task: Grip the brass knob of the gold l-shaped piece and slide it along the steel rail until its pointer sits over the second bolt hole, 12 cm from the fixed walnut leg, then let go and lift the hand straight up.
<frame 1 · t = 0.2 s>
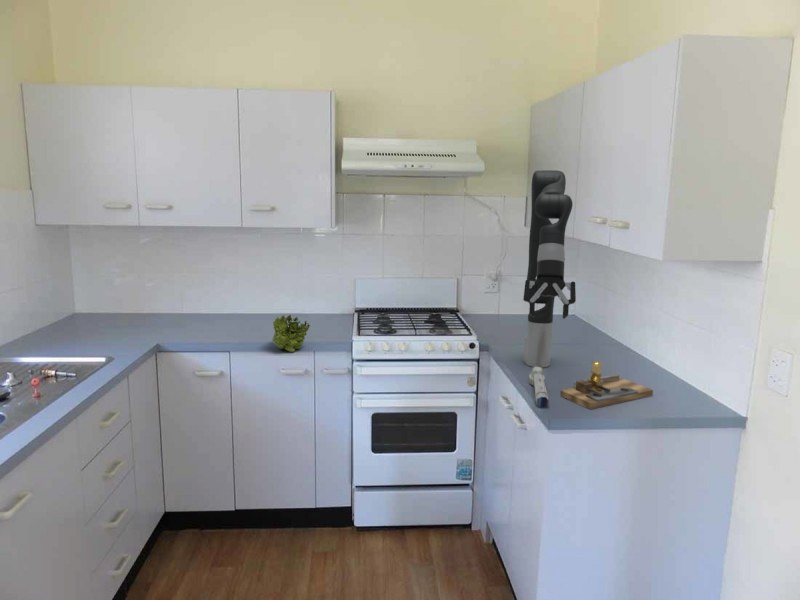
hand: (548, 317, 160), 31 cm above the worktop, tool tilted 20°, fingers open, 8 cm apart
layout board: (606, 395, 187), on the worktop
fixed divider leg: (583, 391, 185), resting on layout board
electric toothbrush: (538, 395, 188), on the worktop
green bumpy lump: (291, 349, 236), on the worktop
gold l-shaped piece: (600, 377, 185), point 7 cm above the worktop, slide at 5.0 cm
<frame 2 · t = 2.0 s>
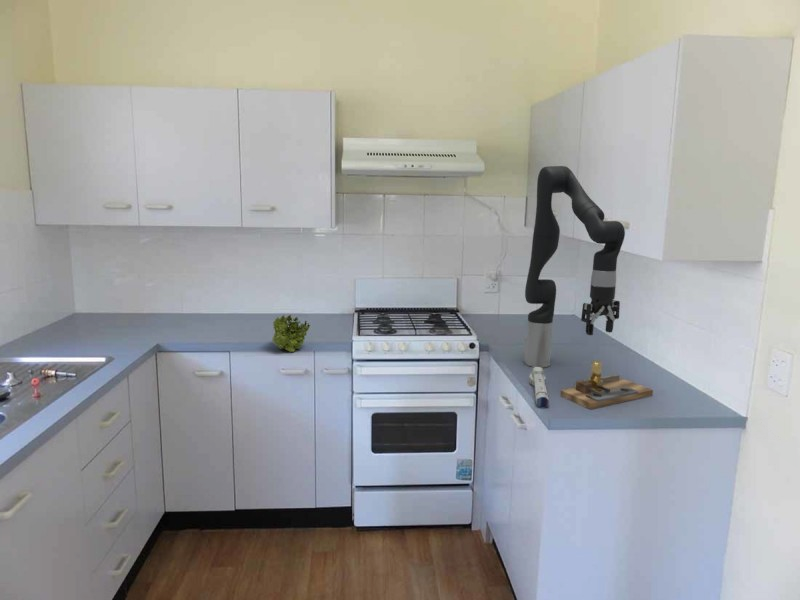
hand: (599, 333, 184), 21 cm above the worktop, tool pointing down, fingers open, 8 cm apart
nothing on the worktop moved.
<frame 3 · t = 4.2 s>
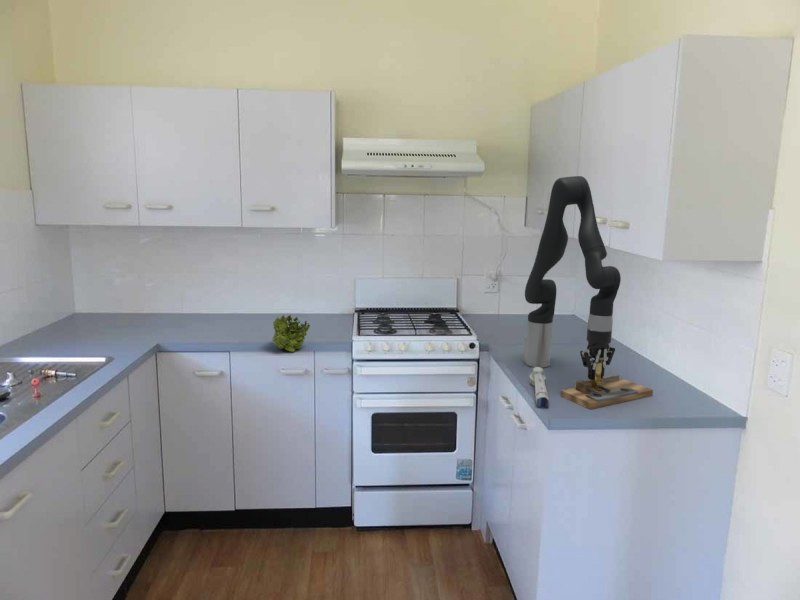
hand: (595, 378, 187), 6 cm above the worktop, tool pointing down, fingers closed on gold l-shaped piece, 3 cm apart
gold l-shaped piece: (600, 377, 185), point 7 cm above the worktop, slide at 5.0 cm, touching gripper
everything else where it was.
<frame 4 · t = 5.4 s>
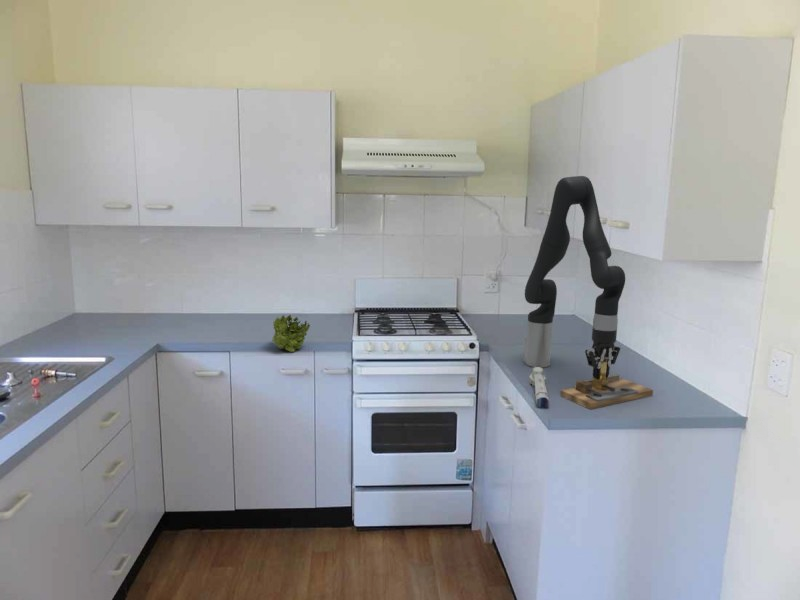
hand: (600, 377, 188), 6 cm above the worktop, tool pointing down, fingers closed on gold l-shaped piece, 3 cm apart
gold l-shaped piece: (605, 376, 186), point 7 cm above the worktop, slide at 7.3 cm, touching gripper
everything else where it was.
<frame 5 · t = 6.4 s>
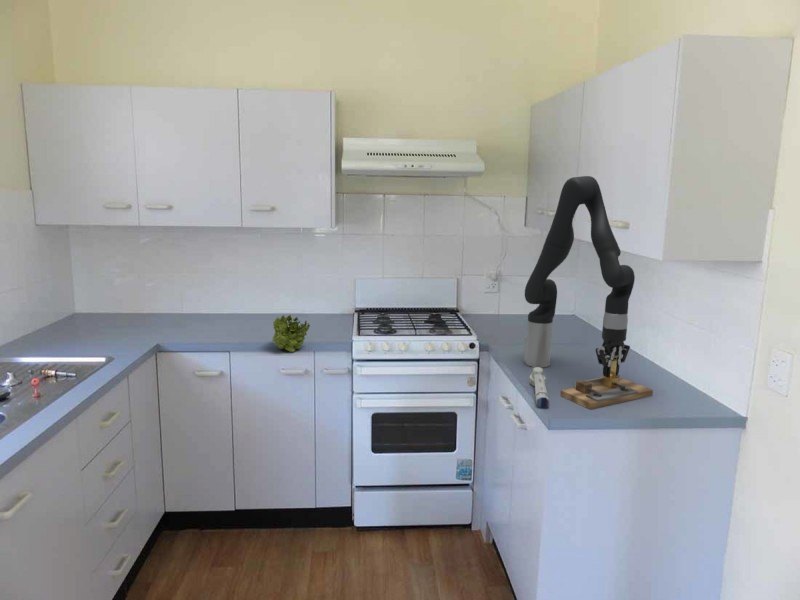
hand: (610, 375, 190), 6 cm above the worktop, tool pointing down, fingers closed on gold l-shaped piece, 3 cm apart
gold l-shaped piece: (615, 374, 188), point 7 cm above the worktop, slide at 11.8 cm, touching gripper
everything else where it was.
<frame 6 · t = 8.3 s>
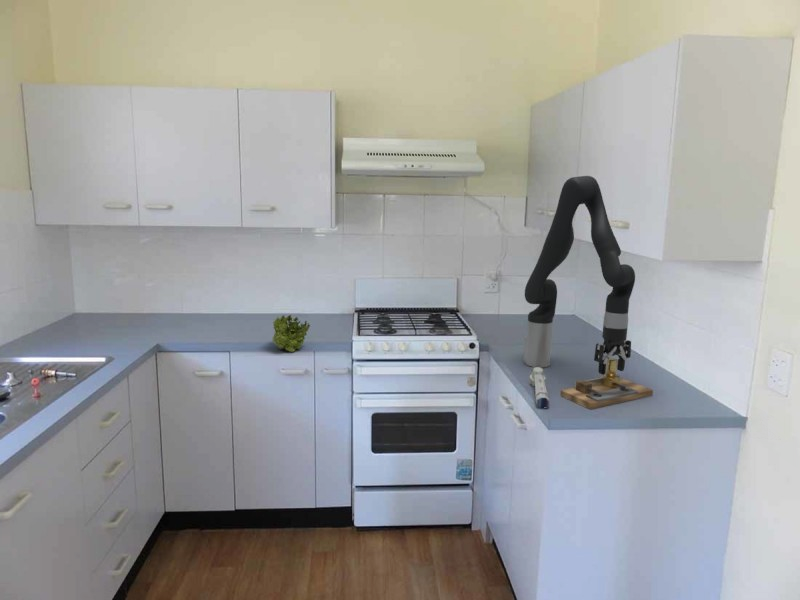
hand: (611, 372, 190), 7 cm above the worktop, tool pointing down, fingers open, 8 cm apart
gold l-shaped piece: (615, 374, 188), point 7 cm above the worktop, slide at 12.0 cm
everything else where it was.
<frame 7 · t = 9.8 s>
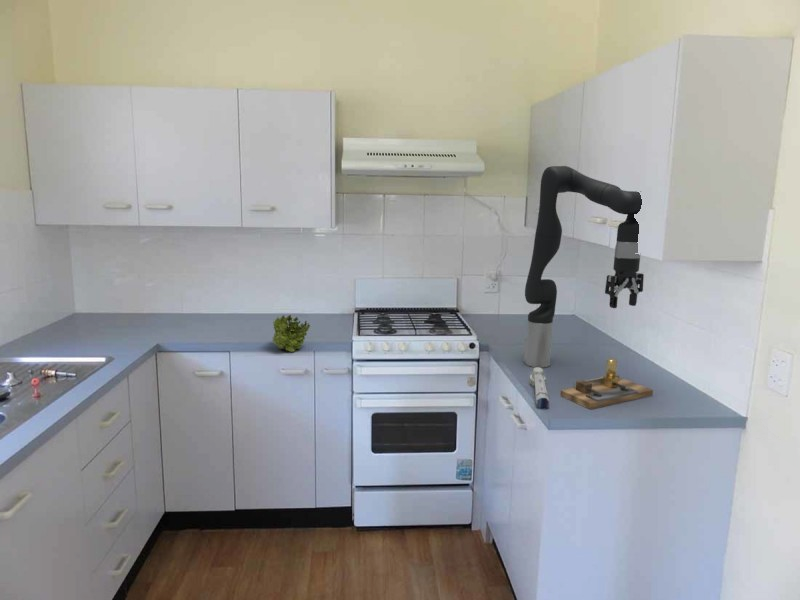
hand: (622, 306, 181), 30 cm above the worktop, tool pointing down, fingers open, 8 cm apart
nothing on the worktop moved.
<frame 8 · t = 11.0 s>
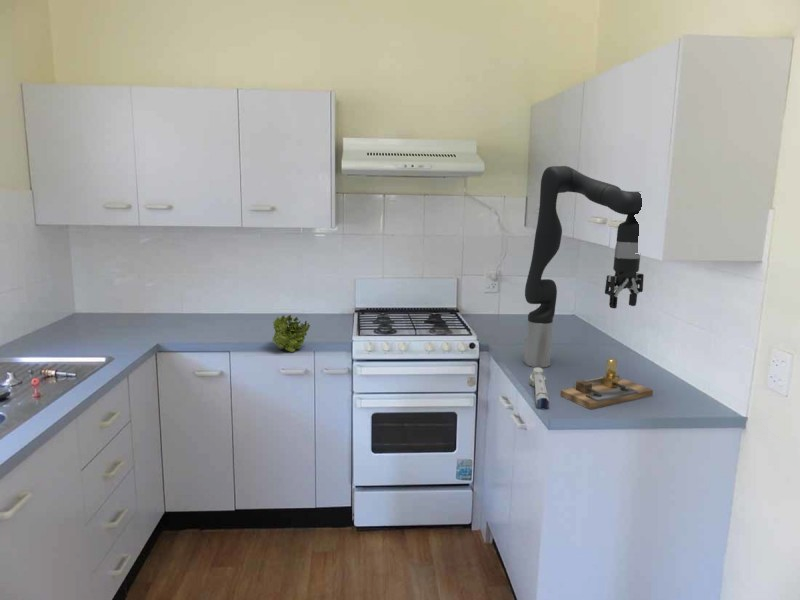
hand: (622, 306, 181), 30 cm above the worktop, tool pointing down, fingers open, 8 cm apart
nothing on the worktop moved.
at the end: gold l-shaped piece slide at 12.0 cm; the gripper is holding nothing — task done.
